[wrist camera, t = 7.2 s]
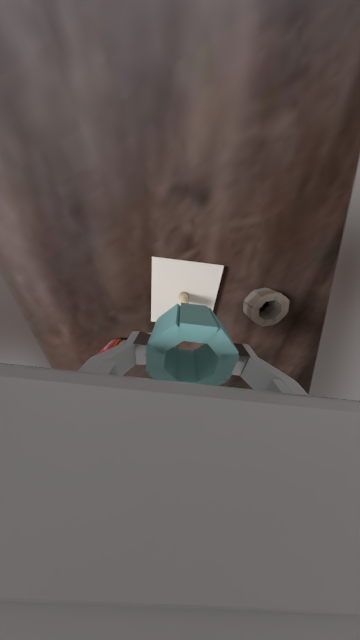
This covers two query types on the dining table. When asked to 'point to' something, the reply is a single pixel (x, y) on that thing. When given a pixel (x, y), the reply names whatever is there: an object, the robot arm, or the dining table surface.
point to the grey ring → (272, 312)
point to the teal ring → (187, 365)
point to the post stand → (182, 284)
